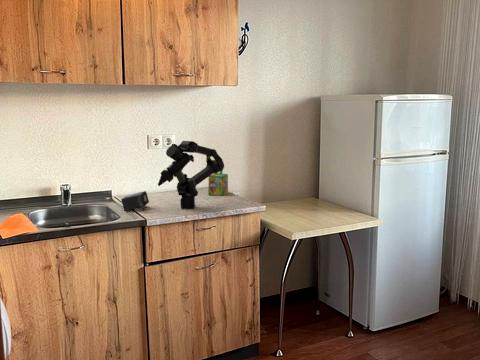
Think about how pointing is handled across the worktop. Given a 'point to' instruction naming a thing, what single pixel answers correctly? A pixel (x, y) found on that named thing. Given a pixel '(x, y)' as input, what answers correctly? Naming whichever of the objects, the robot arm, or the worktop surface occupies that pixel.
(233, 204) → the worktop surface
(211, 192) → the chalk box
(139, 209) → the stop strip
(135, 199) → the small box
